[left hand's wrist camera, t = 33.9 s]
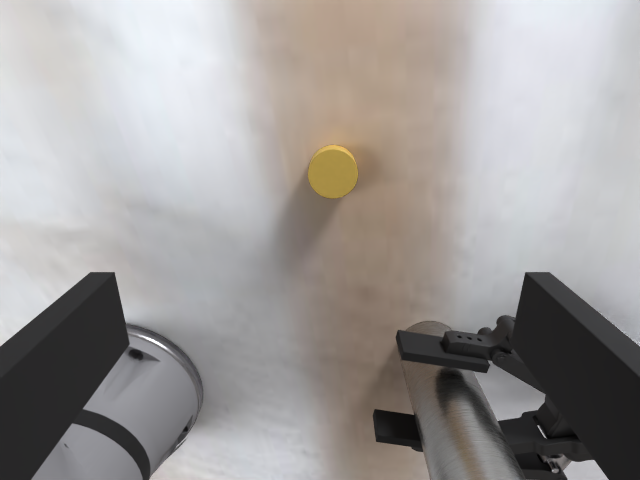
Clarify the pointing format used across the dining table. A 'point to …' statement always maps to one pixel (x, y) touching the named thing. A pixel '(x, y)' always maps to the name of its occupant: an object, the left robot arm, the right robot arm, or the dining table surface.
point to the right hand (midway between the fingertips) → (387, 386)
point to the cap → (332, 172)
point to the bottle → (456, 421)
